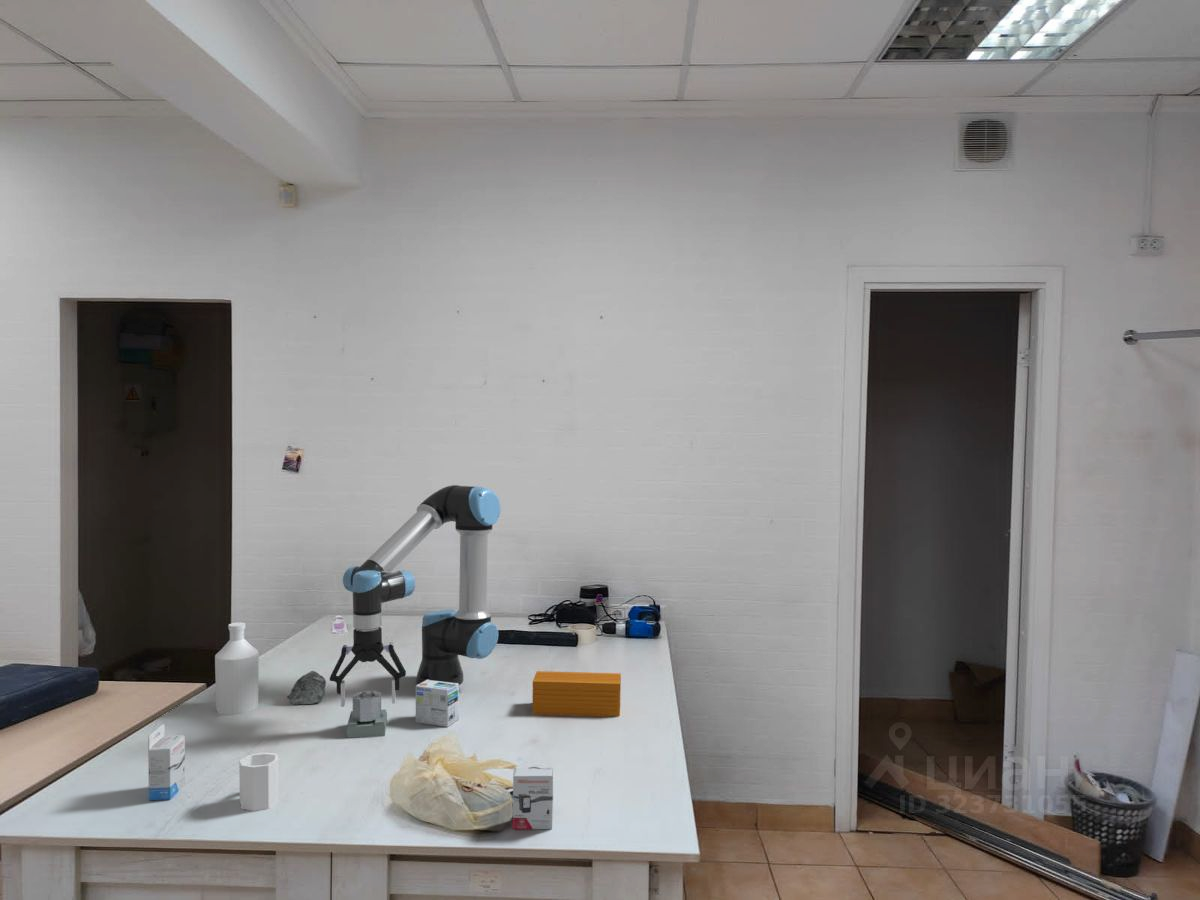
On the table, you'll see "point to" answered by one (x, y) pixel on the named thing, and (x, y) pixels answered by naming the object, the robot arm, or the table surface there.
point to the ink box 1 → (165, 764)
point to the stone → (308, 689)
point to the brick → (576, 693)
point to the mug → (259, 781)
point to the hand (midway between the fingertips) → (368, 703)
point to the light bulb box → (437, 703)
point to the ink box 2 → (532, 797)
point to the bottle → (236, 674)
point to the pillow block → (367, 725)
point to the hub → (366, 706)
